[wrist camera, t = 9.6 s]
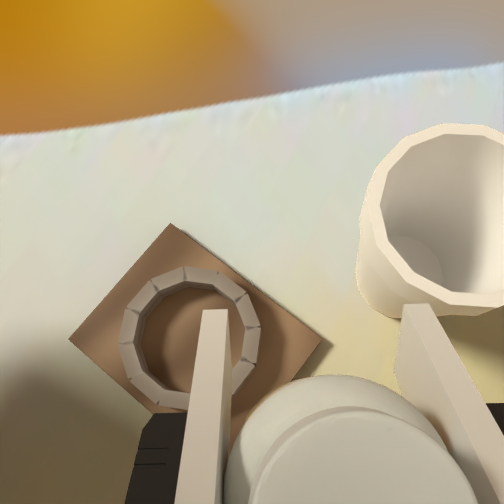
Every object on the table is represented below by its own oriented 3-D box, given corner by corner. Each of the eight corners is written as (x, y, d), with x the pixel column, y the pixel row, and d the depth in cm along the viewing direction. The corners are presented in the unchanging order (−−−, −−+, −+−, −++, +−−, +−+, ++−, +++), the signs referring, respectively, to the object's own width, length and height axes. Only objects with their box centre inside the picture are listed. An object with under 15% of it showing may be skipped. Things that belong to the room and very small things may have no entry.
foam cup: (309, 260, 36) (329, 186, 23) (406, 194, 37) (474, 91, 25) (390, 367, 33) (460, 349, 21) (491, 293, 35) (614, 234, 22)
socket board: (73, 340, 35) (56, 335, 32) (173, 227, 37) (164, 213, 34) (222, 472, 32) (218, 479, 29) (320, 340, 34) (325, 335, 31)
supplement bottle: (270, 356, 18) (279, 321, 9) (407, 414, 18) (567, 439, 8) (213, 501, 17) (153, 634, 8) (358, 570, 16) (485, 805, 7)
